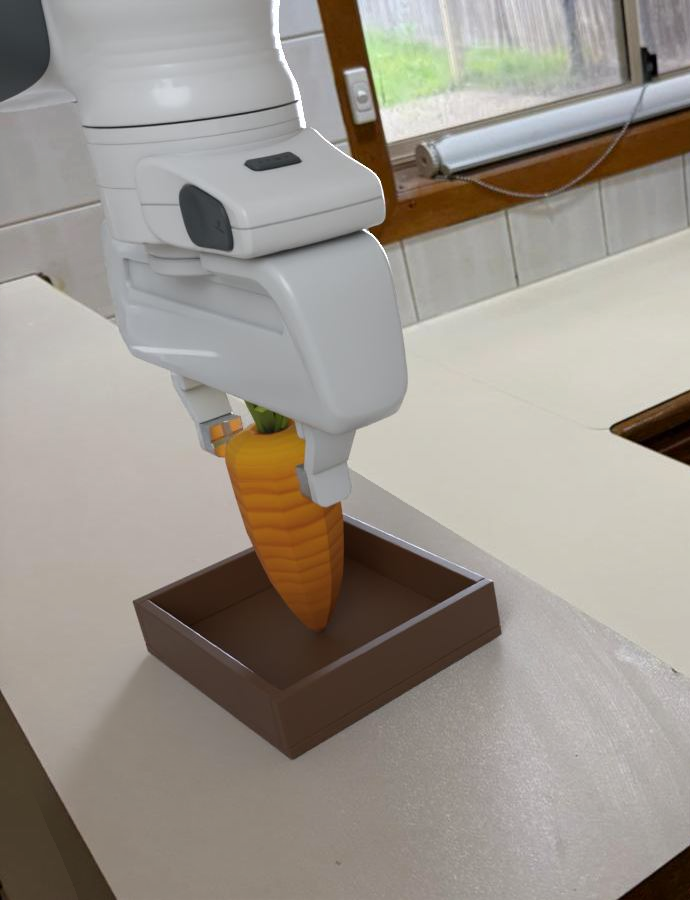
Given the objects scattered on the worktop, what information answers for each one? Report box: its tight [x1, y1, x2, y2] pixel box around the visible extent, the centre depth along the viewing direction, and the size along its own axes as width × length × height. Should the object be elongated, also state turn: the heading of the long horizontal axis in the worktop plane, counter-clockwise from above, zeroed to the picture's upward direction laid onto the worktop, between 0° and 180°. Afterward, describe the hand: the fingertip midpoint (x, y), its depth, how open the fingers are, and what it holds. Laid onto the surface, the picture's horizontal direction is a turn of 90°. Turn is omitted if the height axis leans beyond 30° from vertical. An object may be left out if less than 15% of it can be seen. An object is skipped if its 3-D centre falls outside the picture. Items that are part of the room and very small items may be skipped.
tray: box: [132, 513, 502, 760], centre depth 58 cm, size 14×12×3 cm
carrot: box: [224, 400, 344, 633], centre depth 55 cm, size 5×5×15 cm
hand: (273, 473), depth 54 cm, fingers open, 8 cm apart
